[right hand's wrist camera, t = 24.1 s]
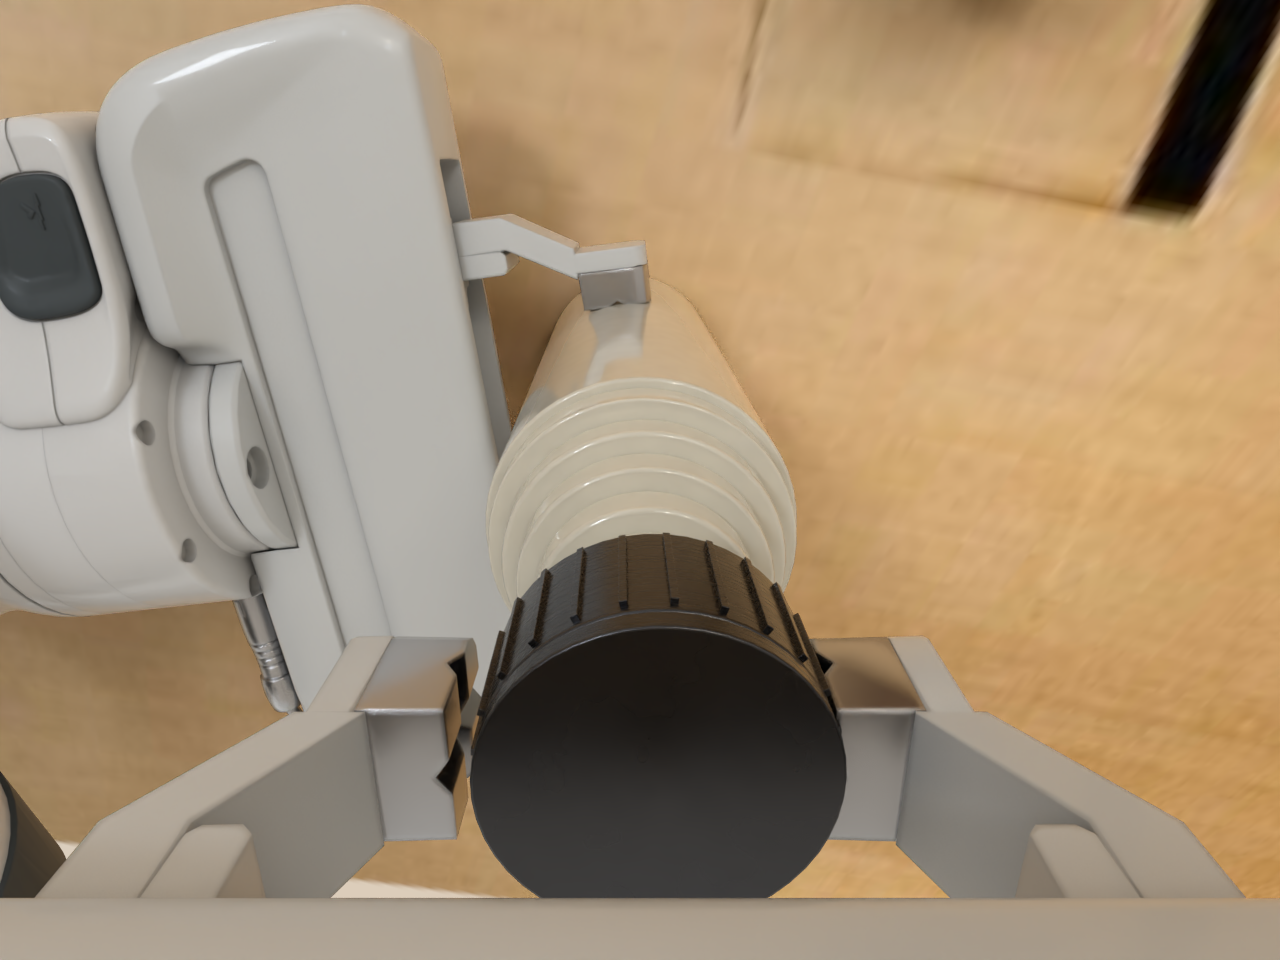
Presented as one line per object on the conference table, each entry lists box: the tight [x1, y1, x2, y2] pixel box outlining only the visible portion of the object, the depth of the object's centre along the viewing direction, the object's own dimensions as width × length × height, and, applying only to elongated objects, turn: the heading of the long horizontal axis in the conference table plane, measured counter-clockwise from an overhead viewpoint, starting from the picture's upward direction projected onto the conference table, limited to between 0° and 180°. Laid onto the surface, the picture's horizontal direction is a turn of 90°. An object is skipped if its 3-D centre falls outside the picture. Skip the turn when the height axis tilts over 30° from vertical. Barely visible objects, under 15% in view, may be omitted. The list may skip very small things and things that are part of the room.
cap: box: [470, 532, 847, 898], centre depth 9 cm, size 4×4×2 cm
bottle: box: [485, 278, 797, 612], centre depth 18 cm, size 6×6×20 cm
